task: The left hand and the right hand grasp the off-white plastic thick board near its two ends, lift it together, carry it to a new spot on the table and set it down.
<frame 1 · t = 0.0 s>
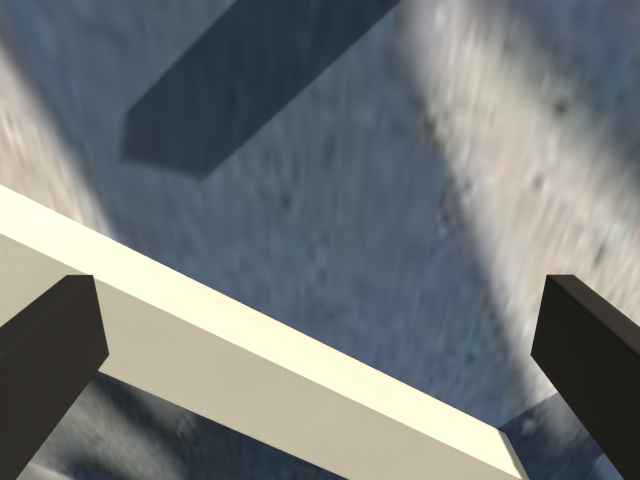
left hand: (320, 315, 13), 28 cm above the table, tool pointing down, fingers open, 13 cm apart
thick board: (201, 325, 45), on the table
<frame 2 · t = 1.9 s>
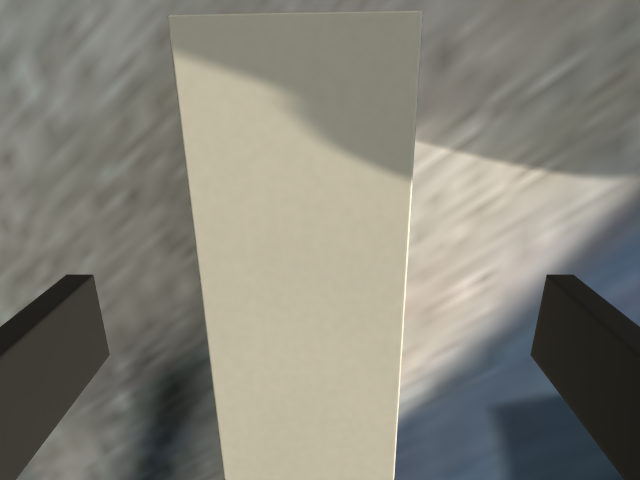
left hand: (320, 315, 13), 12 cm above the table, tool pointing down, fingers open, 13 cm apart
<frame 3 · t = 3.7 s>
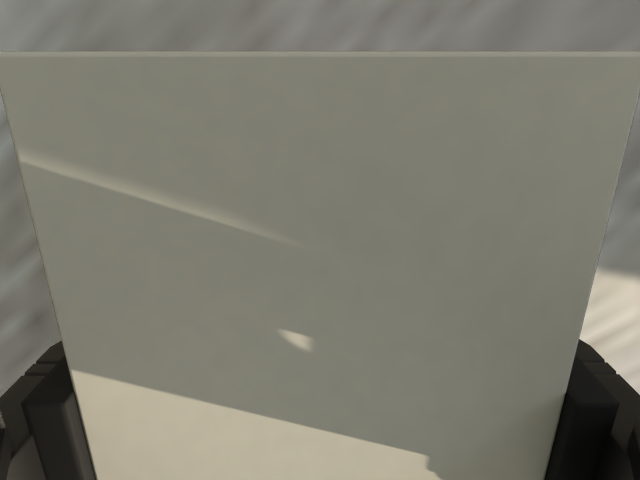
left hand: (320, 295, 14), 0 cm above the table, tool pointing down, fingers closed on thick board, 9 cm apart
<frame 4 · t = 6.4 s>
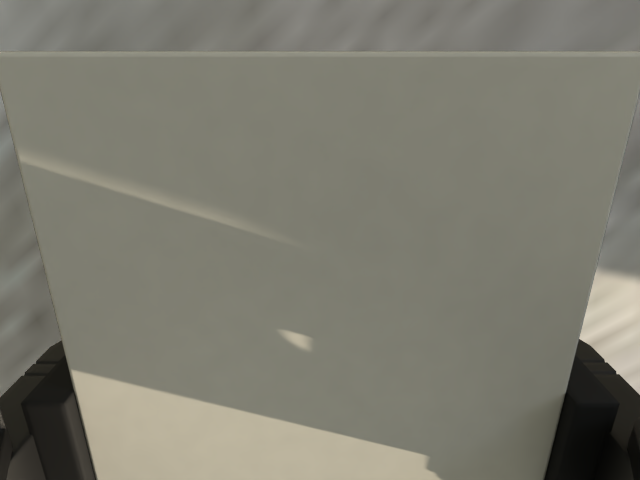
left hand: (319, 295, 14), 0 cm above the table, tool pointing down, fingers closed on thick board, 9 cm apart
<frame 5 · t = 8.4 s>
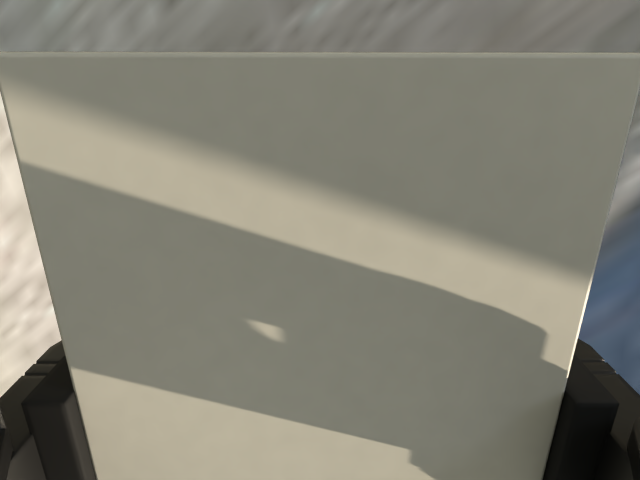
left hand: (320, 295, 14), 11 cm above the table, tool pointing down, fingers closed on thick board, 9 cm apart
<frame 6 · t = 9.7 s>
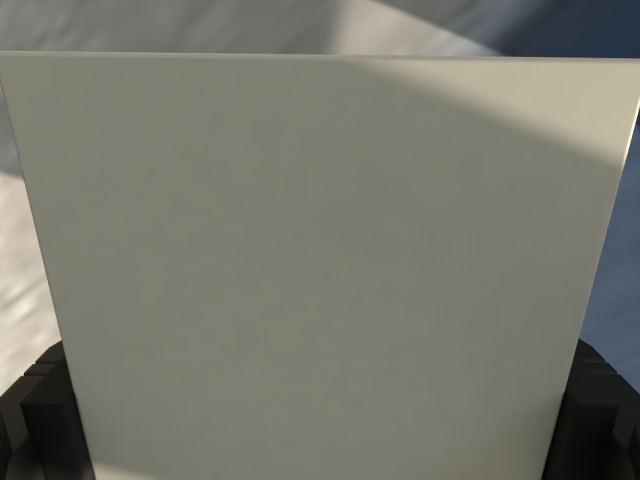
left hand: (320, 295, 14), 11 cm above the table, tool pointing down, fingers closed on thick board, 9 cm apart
when the left hand's fingers open (1 cm above the table, at t = 13.0 s): thick board stays where it is, on the table.
when the right hand's fingers open (1 cm above the table, at t = 13.0 s): thick board stays where it is, on the table.
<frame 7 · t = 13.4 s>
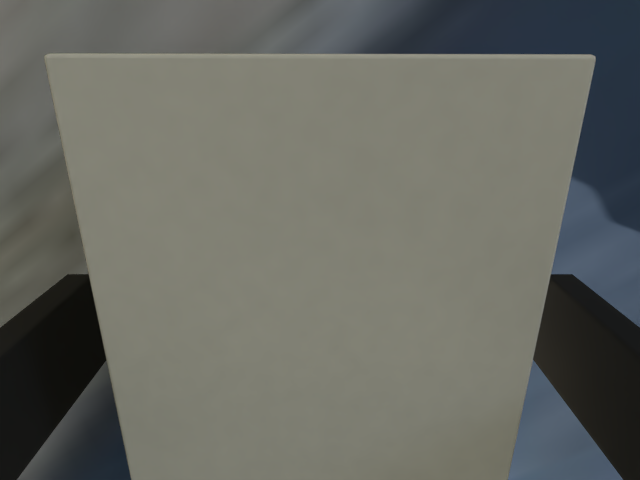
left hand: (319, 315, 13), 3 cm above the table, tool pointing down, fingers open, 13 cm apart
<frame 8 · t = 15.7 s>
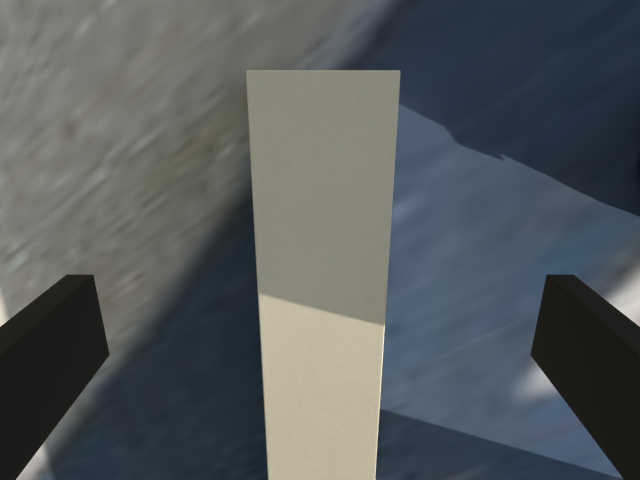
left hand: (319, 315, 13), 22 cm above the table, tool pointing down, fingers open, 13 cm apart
thick board: (321, 459, 44), on the table
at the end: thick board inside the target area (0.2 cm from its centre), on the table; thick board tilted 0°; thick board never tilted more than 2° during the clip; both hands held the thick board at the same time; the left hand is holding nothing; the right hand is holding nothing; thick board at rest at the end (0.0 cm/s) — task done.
